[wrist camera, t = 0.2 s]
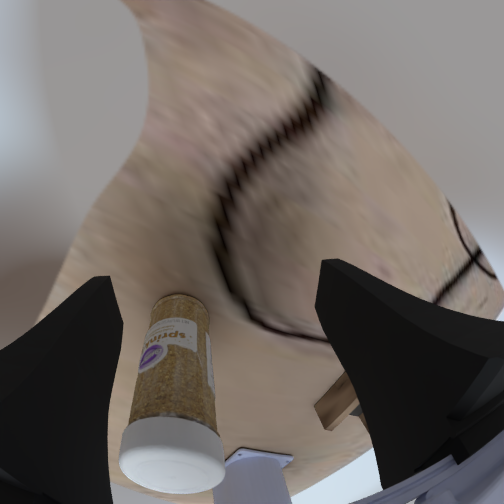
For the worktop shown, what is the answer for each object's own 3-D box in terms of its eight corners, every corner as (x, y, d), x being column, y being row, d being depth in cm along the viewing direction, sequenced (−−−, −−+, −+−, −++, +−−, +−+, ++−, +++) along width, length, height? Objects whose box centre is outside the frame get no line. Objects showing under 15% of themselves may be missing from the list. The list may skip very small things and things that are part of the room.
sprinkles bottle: (172, 280, 20) (147, 437, 8) (221, 314, 22) (250, 472, 9) (139, 323, 21) (102, 474, 8) (187, 352, 22) (189, 503, 10)
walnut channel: (363, 416, 30) (375, 435, 26) (313, 406, 27) (324, 429, 24) (428, 341, 27) (445, 357, 24) (387, 317, 25) (408, 336, 22)
